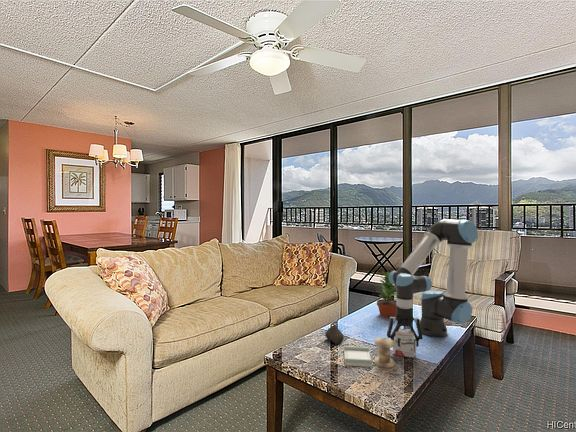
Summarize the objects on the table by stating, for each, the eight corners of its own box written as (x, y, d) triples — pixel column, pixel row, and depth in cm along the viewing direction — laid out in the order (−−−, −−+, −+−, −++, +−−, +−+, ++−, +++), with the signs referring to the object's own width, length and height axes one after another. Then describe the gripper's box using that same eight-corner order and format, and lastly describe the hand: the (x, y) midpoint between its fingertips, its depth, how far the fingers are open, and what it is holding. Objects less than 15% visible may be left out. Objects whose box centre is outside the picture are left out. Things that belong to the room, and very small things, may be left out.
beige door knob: (392, 358, 153) (392, 337, 153) (396, 368, 144) (396, 346, 144) (373, 357, 154) (373, 337, 154) (375, 367, 145) (375, 345, 145)
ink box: (395, 355, 157) (395, 331, 156) (395, 351, 161) (395, 327, 161) (414, 357, 154) (414, 333, 154) (413, 353, 159) (413, 329, 158)
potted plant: (404, 319, 206) (404, 272, 205) (380, 319, 206) (380, 272, 206) (396, 311, 221) (396, 267, 220) (374, 311, 221) (374, 268, 220)
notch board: (368, 352, 160) (368, 346, 160) (372, 366, 146) (372, 360, 146) (344, 350, 162) (344, 345, 162) (345, 365, 147) (345, 359, 147)
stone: (345, 348, 173) (343, 330, 180) (344, 341, 167) (341, 323, 175) (327, 350, 175) (326, 332, 182) (325, 343, 169) (323, 325, 176)
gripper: (425, 304, 159) (425, 350, 160) (380, 303, 162) (380, 347, 163) (430, 309, 152) (430, 357, 152) (382, 308, 155) (382, 354, 155)
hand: (404, 352), depth 158 cm, fingers closed on ink box, 9 cm apart
